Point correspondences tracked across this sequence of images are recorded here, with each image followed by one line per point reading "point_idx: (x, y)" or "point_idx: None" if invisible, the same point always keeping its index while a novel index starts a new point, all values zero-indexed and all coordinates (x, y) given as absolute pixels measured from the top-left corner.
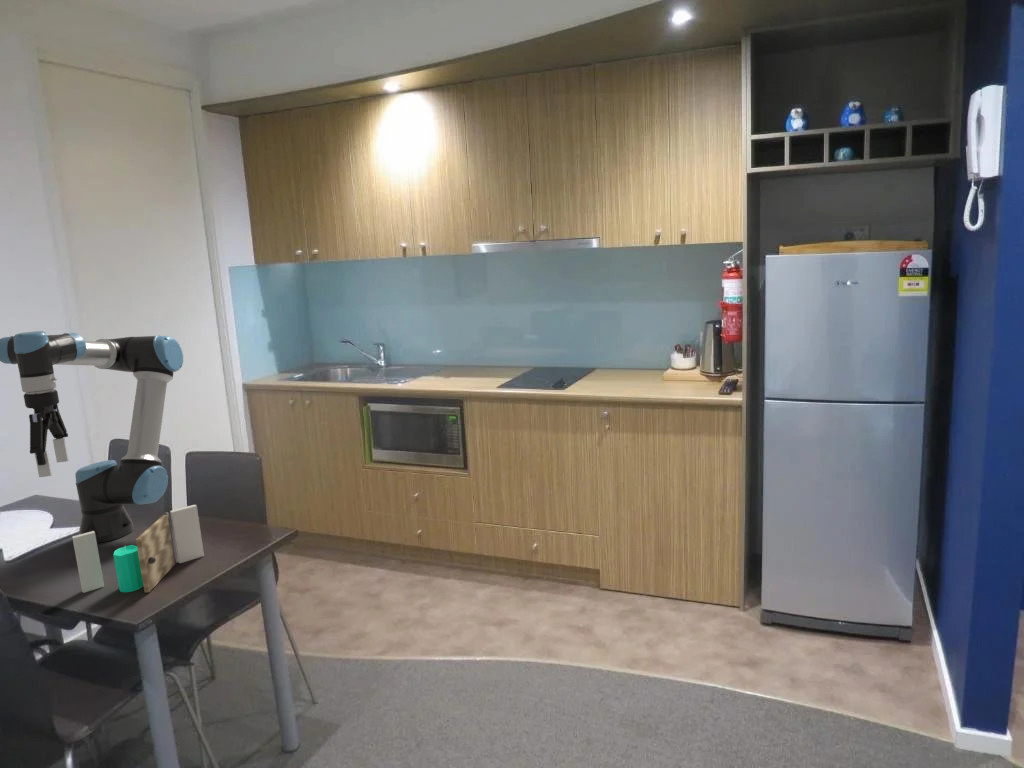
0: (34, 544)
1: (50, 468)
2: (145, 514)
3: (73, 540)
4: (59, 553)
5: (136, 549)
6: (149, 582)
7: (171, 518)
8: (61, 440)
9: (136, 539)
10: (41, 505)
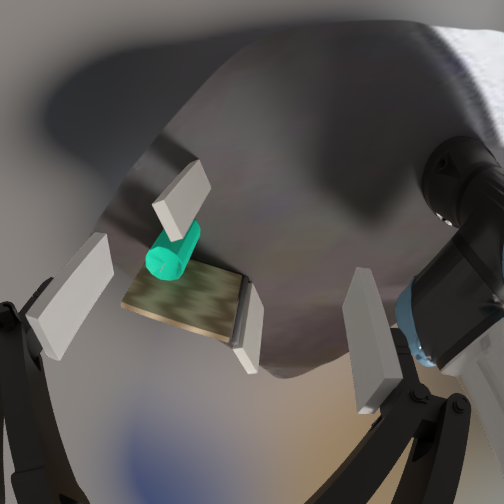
0: (483, 66)
1: (97, 294)
2: None
3: (156, 200)
4: (417, 101)
5: (169, 277)
6: None
7: (242, 337)
8: (362, 397)
9: (121, 302)
10: None
